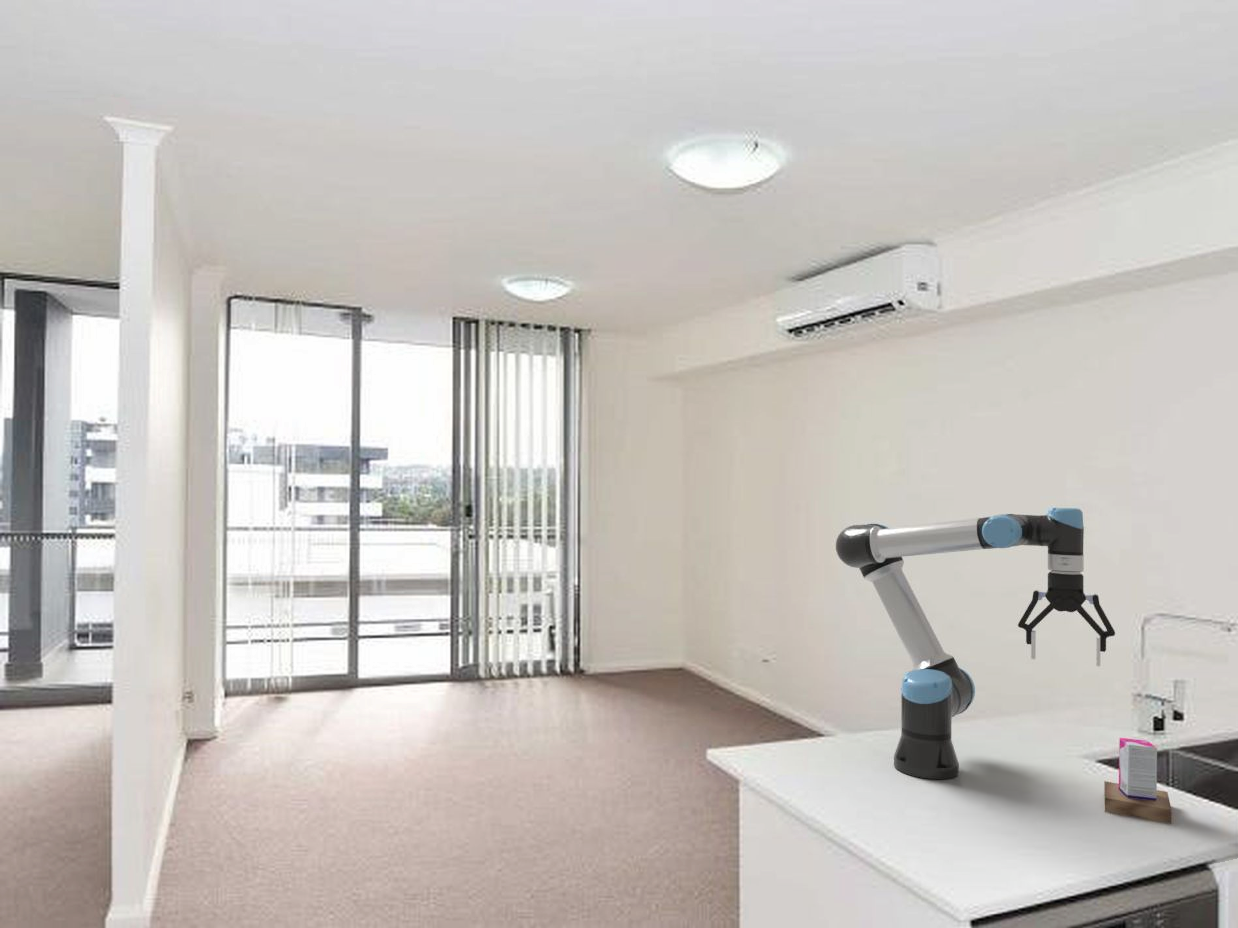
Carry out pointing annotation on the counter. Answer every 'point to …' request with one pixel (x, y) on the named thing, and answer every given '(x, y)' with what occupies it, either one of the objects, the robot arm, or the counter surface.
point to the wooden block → (1137, 805)
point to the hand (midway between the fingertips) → (1065, 661)
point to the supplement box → (1137, 769)
